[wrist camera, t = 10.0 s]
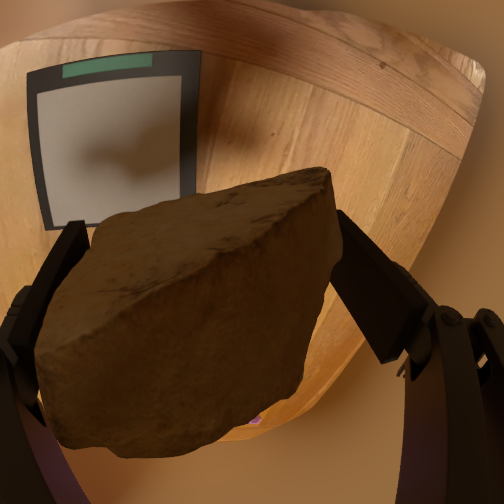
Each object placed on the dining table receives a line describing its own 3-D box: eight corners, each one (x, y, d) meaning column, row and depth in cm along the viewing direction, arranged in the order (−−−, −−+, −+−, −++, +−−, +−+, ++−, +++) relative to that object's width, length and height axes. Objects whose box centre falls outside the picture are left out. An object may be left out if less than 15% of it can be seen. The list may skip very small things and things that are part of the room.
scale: (40, 72, 19) (23, 73, 16) (200, 53, 22) (202, 49, 19) (54, 217, 27) (43, 234, 24) (194, 209, 31) (196, 224, 28)
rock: (394, 122, 9) (91, 43, 5) (464, 367, 7) (40, 472, 2) (265, 234, 18) (95, 225, 14) (283, 376, 16) (97, 393, 12)
